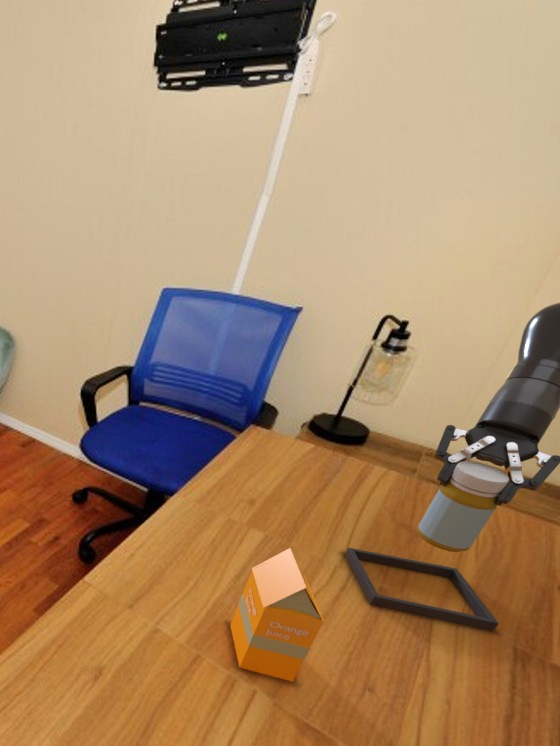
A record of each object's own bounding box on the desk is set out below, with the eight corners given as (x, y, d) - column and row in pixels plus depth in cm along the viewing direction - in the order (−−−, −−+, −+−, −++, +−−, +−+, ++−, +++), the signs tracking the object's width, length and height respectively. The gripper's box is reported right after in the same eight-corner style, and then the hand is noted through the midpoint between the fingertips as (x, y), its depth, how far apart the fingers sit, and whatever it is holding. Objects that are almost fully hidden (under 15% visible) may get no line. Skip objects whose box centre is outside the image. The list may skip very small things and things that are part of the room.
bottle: (430, 550, 89) (472, 481, 82) (406, 524, 95) (443, 457, 88) (478, 556, 87) (525, 486, 80) (451, 530, 93) (492, 462, 86)
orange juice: (278, 639, 88) (318, 553, 78) (292, 684, 80) (338, 595, 71) (228, 627, 90) (261, 541, 81) (237, 670, 83) (274, 581, 73)
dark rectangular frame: (450, 578, 99) (456, 568, 98) (491, 633, 88) (499, 623, 87) (343, 556, 105) (348, 547, 104) (368, 606, 94) (374, 596, 92)
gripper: (465, 387, 88) (416, 467, 87) (593, 417, 78) (538, 508, 77) (458, 405, 93) (412, 480, 93) (577, 436, 83) (526, 521, 82)
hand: (469, 493), depth 85 cm, fingers closed on bottle, 6 cm apart
